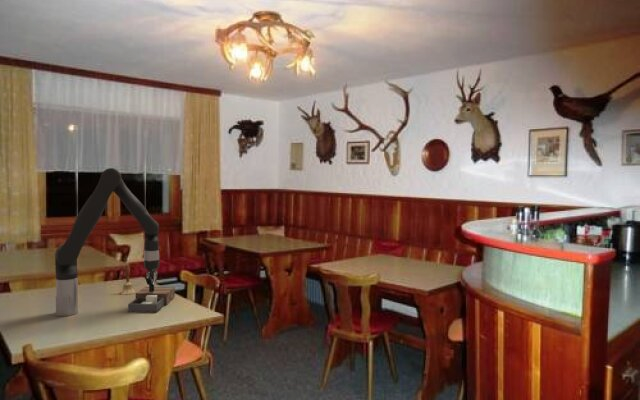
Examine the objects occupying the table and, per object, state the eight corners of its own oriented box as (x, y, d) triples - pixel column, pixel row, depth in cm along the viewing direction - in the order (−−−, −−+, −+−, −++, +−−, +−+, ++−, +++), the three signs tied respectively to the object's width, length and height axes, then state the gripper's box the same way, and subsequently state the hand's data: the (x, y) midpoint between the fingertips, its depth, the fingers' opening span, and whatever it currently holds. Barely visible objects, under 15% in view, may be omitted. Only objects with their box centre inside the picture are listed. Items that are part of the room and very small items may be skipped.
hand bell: (132, 295, 255) (131, 266, 254) (117, 294, 255) (117, 266, 254) (138, 291, 264) (138, 263, 263) (123, 290, 264) (123, 263, 263)
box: (156, 312, 225) (156, 304, 225) (128, 312, 225) (128, 304, 224) (164, 305, 237) (164, 297, 237) (137, 305, 237) (137, 297, 236)
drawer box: (166, 305, 237) (166, 293, 237) (135, 304, 237) (135, 293, 236) (174, 297, 251) (174, 287, 251) (145, 297, 251) (145, 286, 250)
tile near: (153, 301, 233) (153, 306, 233) (143, 301, 233) (143, 306, 233) (150, 304, 228) (150, 309, 228) (140, 304, 228) (140, 309, 228)
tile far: (157, 304, 236) (155, 306, 233) (147, 304, 236) (145, 306, 233) (157, 295, 236) (155, 296, 233) (147, 295, 235) (145, 296, 233)
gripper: (148, 256, 243) (148, 288, 244) (139, 261, 230) (139, 295, 231) (163, 256, 244) (163, 288, 245) (154, 261, 230) (154, 295, 231)
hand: (151, 291), depth 238 cm, fingers closed
